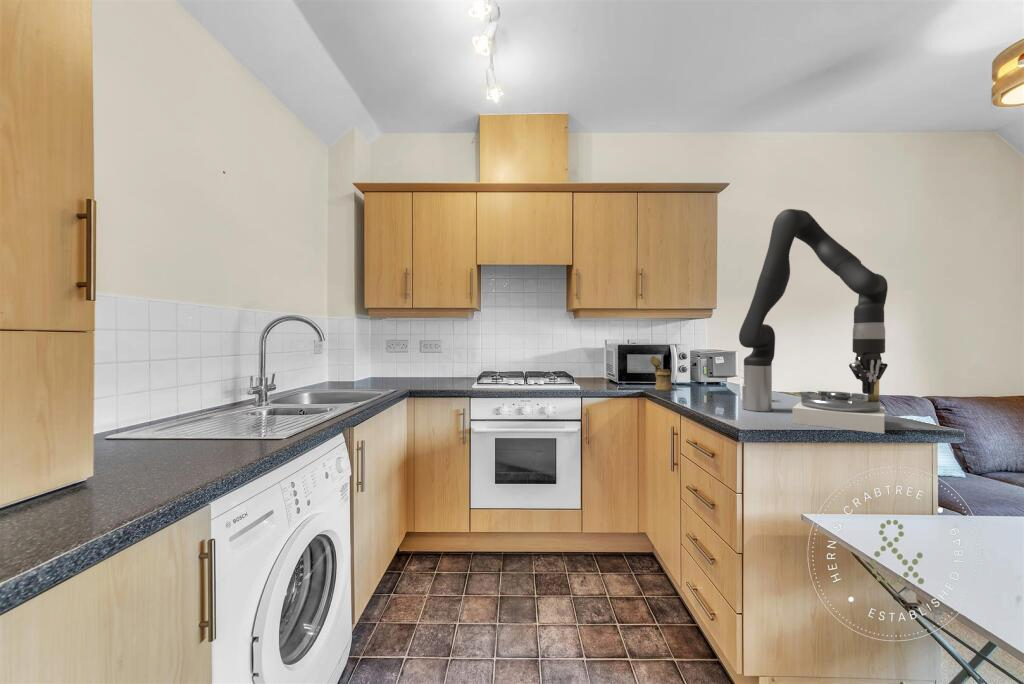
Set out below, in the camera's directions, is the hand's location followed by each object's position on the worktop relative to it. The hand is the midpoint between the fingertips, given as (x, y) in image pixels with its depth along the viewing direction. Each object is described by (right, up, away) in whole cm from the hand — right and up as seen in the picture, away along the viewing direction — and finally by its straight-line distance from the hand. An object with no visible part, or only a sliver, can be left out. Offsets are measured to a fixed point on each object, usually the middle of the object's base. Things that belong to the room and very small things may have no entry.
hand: (868, 393), depth 123 cm
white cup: (-4, -10, +55) cm, 56 cm away
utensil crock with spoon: (-29, -10, +94) cm, 99 cm away
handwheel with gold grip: (-3, -5, +8) cm, 10 cm away
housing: (-2, -11, +8) cm, 13 cm away
